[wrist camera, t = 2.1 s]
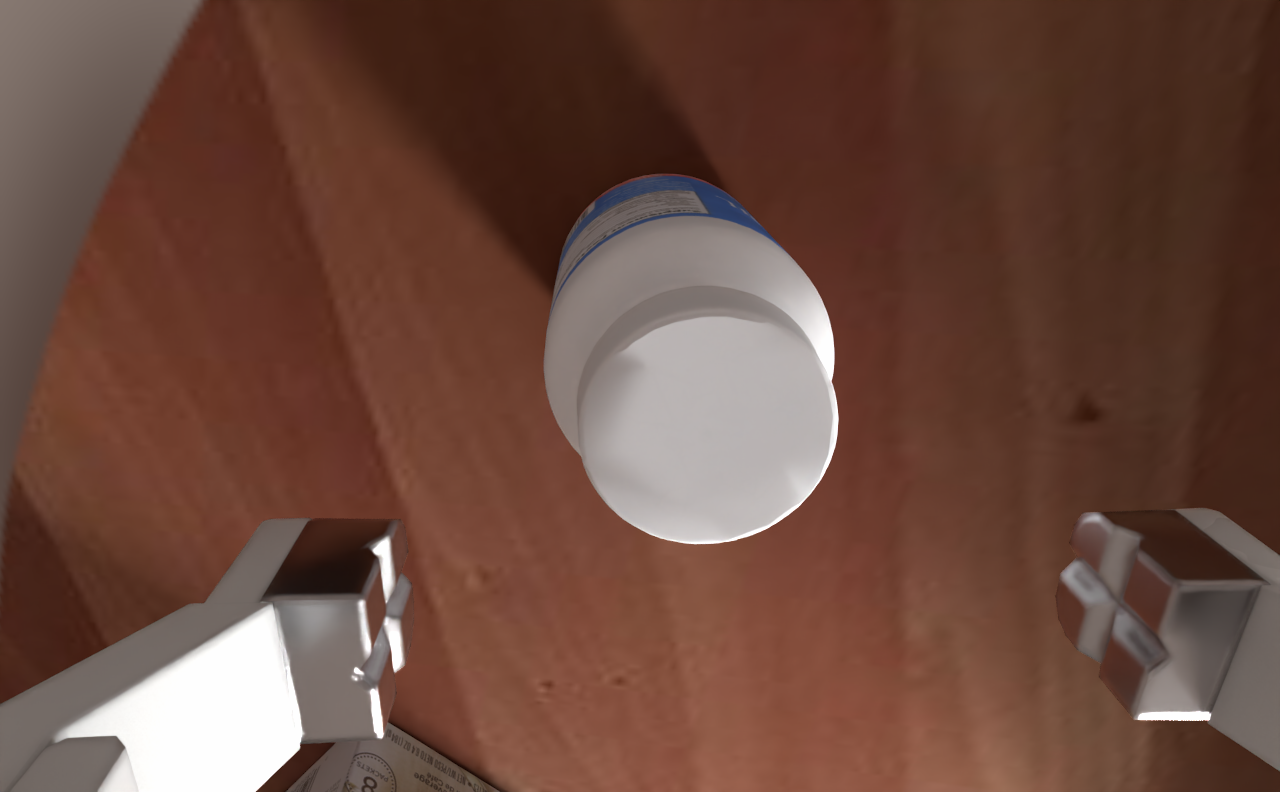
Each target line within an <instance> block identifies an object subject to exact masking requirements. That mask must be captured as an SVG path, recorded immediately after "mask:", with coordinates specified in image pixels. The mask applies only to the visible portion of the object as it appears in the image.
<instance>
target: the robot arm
mask: <svg viewBox="0 0 1280 792" xmlns="http://www.w3.org/2000/svg"><path fill="white" fill-rule="evenodd" d="M1069 544H1070V545H1071V547H1072V549H1073V551H1074V553H1075V555H1076V557H1077V558H1076V559H1075V560H1074V561H1073V562H1072V563H1071V564H1070V565H1069V566H1068V567H1067V568H1066V569H1065V570H1064V571H1062V572H1061V574H1060V578H1059V583H1058V587H1057V592H1056V596H1055V597H1056V605H1057V612H1058V619H1059V621H1060V624H1061V626H1062V628H1063V631H1064V633H1065V635H1066V636H1067V638H1068V639H1069V640H1070V641H1071V643H1072V644H1073V645H1074V647H1075V648H1076V649H1077V650H1078V651H1080V652H1082V653H1083V654H1085V655H1087V656H1089V657H1091V658H1092V659H1094V660H1096V661H1098V662H1099V663H1101V664H1100V672H1099V678H1100V679H1101V680H1102V681H1103V683H1104V684H1105V685H1106V686H1107V687H1108V689H1109V690H1110V691H1111V692H1112V694H1113V695H1114V696H1115V697H1116V698H1117V700H1118V701H1119V702H1120V703H1121V705H1122V706H1123V707H1124V708H1125V710H1126V711H1127V712H1128V713H1129V714H1130V716H1131V717H1132V718H1133V719H1134V720H1208V724H1209V725H1211V726H1212V727H1214V728H1215V729H1217V730H1218V731H1220V732H1221V733H1223V734H1224V735H1226V736H1227V737H1229V738H1231V739H1232V740H1234V741H1235V742H1237V743H1238V744H1240V745H1241V746H1243V747H1244V748H1246V749H1247V750H1249V751H1250V752H1252V753H1253V754H1255V755H1256V756H1258V757H1259V758H1261V759H1262V760H1264V761H1265V762H1267V763H1268V764H1270V765H1271V766H1273V767H1274V768H1276V769H1277V770H1279V771H1280V555H1278V554H1277V553H1276V552H1274V551H1273V550H1271V549H1270V548H1269V547H1267V546H1266V545H1265V544H1263V543H1262V542H1260V541H1259V540H1258V539H1256V538H1255V537H1254V536H1252V535H1251V534H1249V533H1248V532H1247V531H1245V530H1244V529H1243V528H1241V527H1240V526H1238V525H1237V524H1236V523H1234V522H1233V521H1232V520H1230V519H1229V518H1227V517H1226V516H1225V515H1223V514H1222V513H1221V512H1219V511H1215V510H1211V509H1207V508H1189V509H1169V510H1149V511H1122V512H1095V513H1083V514H1082V515H1081V516H1080V518H1079V519H1078V520H1077V522H1076V523H1075V524H1074V527H1073V531H1072V534H1071V537H1070V541H1069ZM407 554H408V544H407V537H406V530H405V526H404V524H403V523H402V521H401V519H331V518H315V519H311V518H284V519H269V520H266V521H263V522H262V523H261V524H260V525H259V527H258V528H257V529H256V531H255V532H254V534H253V535H252V536H251V538H250V539H249V541H248V542H247V543H246V545H245V546H244V548H243V549H242V550H241V552H240V553H239V555H238V556H237V557H236V559H235V560H234V562H233V563H232V564H231V566H230V567H229V569H228V570H227V572H226V573H225V574H224V576H223V577H222V579H221V580H220V581H219V583H218V584H217V586H216V587H215V588H214V590H213V591H212V593H211V594H210V595H209V597H208V598H207V600H206V601H205V602H204V603H201V604H188V605H186V606H184V607H182V608H180V609H179V610H177V611H175V612H173V613H171V614H169V615H167V616H165V617H164V618H162V619H160V620H158V621H156V622H154V623H152V624H150V625H148V626H147V627H145V628H143V629H141V630H139V631H137V632H135V633H133V634H132V635H130V636H128V637H126V638H124V639H122V640H120V641H118V642H116V643H115V644H113V645H111V646H109V647H107V648H105V649H103V650H101V651H100V652H98V653H96V654H94V655H92V656H90V657H88V658H86V659H84V660H83V661H81V662H79V663H77V664H75V665H73V666H71V667H69V668H68V669H66V670H64V671H62V672H60V673H58V674H56V675H54V676H52V677H51V678H49V679H47V680H45V681H43V682H41V683H39V684H37V685H36V686H34V687H32V688H30V689H28V690H26V691H24V692H22V693H20V694H19V695H17V696H15V697H13V698H11V699H9V700H7V701H5V702H4V703H2V704H0V792H255V791H256V790H258V789H259V788H260V787H261V786H262V785H263V784H264V783H265V782H266V781H267V780H268V779H269V778H270V777H271V776H272V775H273V774H274V773H275V772H276V771H277V770H278V769H280V768H281V767H282V766H283V765H284V764H285V763H286V762H287V761H288V760H289V759H290V758H291V757H292V756H293V755H294V754H295V753H296V752H297V751H298V750H299V749H300V744H312V743H330V742H349V741H367V740H382V739H383V735H384V732H385V729H386V726H387V723H388V719H389V716H390V713H391V710H392V707H393V703H394V700H395V697H396V694H397V692H396V683H395V675H394V673H395V672H396V671H398V670H399V669H400V668H401V667H403V666H404V665H405V664H406V661H407V657H408V654H409V650H410V647H411V640H412V632H413V624H414V598H413V588H412V583H411V582H410V581H409V580H408V579H407V578H406V577H405V576H404V575H403V574H402V572H401V571H402V568H403V566H404V563H405V560H406V557H407Z"/></svg>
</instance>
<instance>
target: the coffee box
mask: <svg viewBox="0 0 1280 792" xmlns="http://www.w3.org/2000/svg"><path fill="white" fill-rule="evenodd" d="M286 792H500V791H498V790H496V789H495V788H493V787H492V786H490V785H488V784H487V783H485V782H483V781H482V780H480V779H479V778H477V777H475V776H474V775H472V774H470V773H469V772H467V771H466V770H464V769H462V768H461V767H459V766H457V765H456V764H454V763H453V762H451V761H449V760H448V759H446V758H445V757H443V756H442V755H440V754H438V753H437V752H435V751H434V750H432V749H430V748H429V747H427V746H425V745H424V744H422V743H421V742H419V741H417V740H416V739H414V738H413V737H411V736H409V735H408V734H406V733H405V732H403V731H401V730H400V729H398V728H396V727H395V726H393V725H391V724H390V723H387V726H386V729H385V732H384V735H383V739H382V740H367V741H349V742H336V743H335V744H334V745H333V746H332V747H331V748H330V749H329V750H328V751H327V752H326V753H325V754H324V755H323V756H322V757H321V758H320V759H319V760H318V761H317V762H316V763H315V764H314V765H313V766H312V767H311V768H309V769H308V770H307V771H306V772H305V773H304V774H303V775H302V776H301V777H300V778H299V779H298V780H297V781H296V782H295V783H294V784H293V785H292V786H291V787H290V788H289V789H288V790H287V791H286Z"/></svg>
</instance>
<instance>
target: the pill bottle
mask: <svg viewBox="0 0 1280 792" xmlns="http://www.w3.org/2000/svg"><path fill="white" fill-rule="evenodd" d="M833 369H834V342H833V334H832V329H831V325H830V321H829V317H828V314H827V311H826V309H825V306H824V304H823V302H822V299H821V297H820V296H819V294H818V292H817V290H816V288H815V287H814V285H813V284H812V282H811V281H810V279H809V278H808V277H807V275H806V274H805V273H804V271H803V270H802V269H801V268H800V267H799V265H798V264H797V263H796V262H795V261H794V260H793V259H792V258H791V256H790V255H789V254H788V253H787V252H786V251H785V250H784V249H783V248H782V247H781V246H780V245H779V244H778V243H777V242H776V241H775V240H774V239H773V238H772V236H771V235H770V234H769V233H768V232H767V231H766V230H765V229H764V228H763V227H762V226H761V225H760V224H759V223H758V222H757V221H756V220H755V219H754V218H753V217H752V215H751V214H750V213H749V212H748V211H747V210H746V209H745V208H744V207H743V206H742V205H741V204H740V203H739V202H738V201H737V200H735V199H734V198H733V197H732V196H730V195H729V194H728V193H726V192H724V191H723V190H721V189H720V188H718V187H716V186H714V185H712V184H710V183H708V182H706V181H703V180H701V179H698V178H695V177H691V176H686V175H680V174H652V175H645V176H641V177H637V178H633V179H630V180H627V181H625V182H623V183H620V184H618V185H616V186H614V187H612V188H610V189H609V190H607V191H606V192H604V193H603V194H601V195H600V196H599V197H598V198H596V199H595V200H594V201H593V202H592V203H591V204H590V205H589V206H588V207H587V208H586V209H585V210H584V211H583V212H582V214H581V215H580V216H579V218H578V219H577V221H576V223H575V224H574V226H573V228H572V229H571V231H570V233H569V235H568V237H567V239H566V241H565V244H564V247H563V249H562V254H561V257H560V263H559V268H558V272H557V278H556V283H555V287H554V293H553V299H552V305H551V311H550V316H549V322H548V327H547V333H546V344H545V354H544V377H545V385H546V391H547V395H548V399H549V402H550V406H551V409H552V412H553V414H554V416H555V419H556V421H557V423H558V425H559V427H560V428H561V430H562V432H563V434H564V435H565V437H566V438H567V440H568V441H569V442H570V444H571V445H572V447H573V448H574V449H575V450H576V451H577V452H578V453H579V454H580V456H581V457H582V461H583V464H584V468H585V470H586V473H587V475H588V477H589V479H590V481H591V483H592V485H593V486H594V488H595V489H596V491H597V492H598V494H599V495H600V496H601V498H602V499H603V500H604V502H605V503H606V504H607V505H608V506H609V507H610V508H611V509H612V510H613V511H614V512H616V513H617V514H618V515H619V516H620V517H621V518H623V519H624V520H625V521H627V522H628V523H630V524H632V525H633V526H635V527H637V528H639V529H641V530H643V531H645V532H646V533H648V534H650V535H653V536H656V537H659V538H661V539H666V540H672V541H676V542H681V543H690V544H712V543H721V542H727V541H733V540H736V539H739V538H744V537H747V536H751V535H753V534H755V533H757V532H760V531H762V530H765V529H767V528H769V527H770V526H772V525H774V524H776V523H777V522H779V521H780V520H781V519H783V518H784V517H786V516H787V515H789V514H790V513H791V512H792V511H794V510H795V509H796V508H797V507H799V505H800V504H801V503H802V502H803V501H804V500H805V499H806V498H807V497H808V496H809V495H810V494H811V493H812V491H813V490H814V488H815V487H816V485H817V484H818V483H819V481H820V480H821V478H822V477H823V475H824V473H825V470H826V468H827V467H828V465H829V462H830V460H831V457H832V454H833V451H834V448H835V444H836V439H837V430H838V410H837V401H836V396H835V392H834V388H833V385H832V382H831V380H832V376H833Z"/></svg>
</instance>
